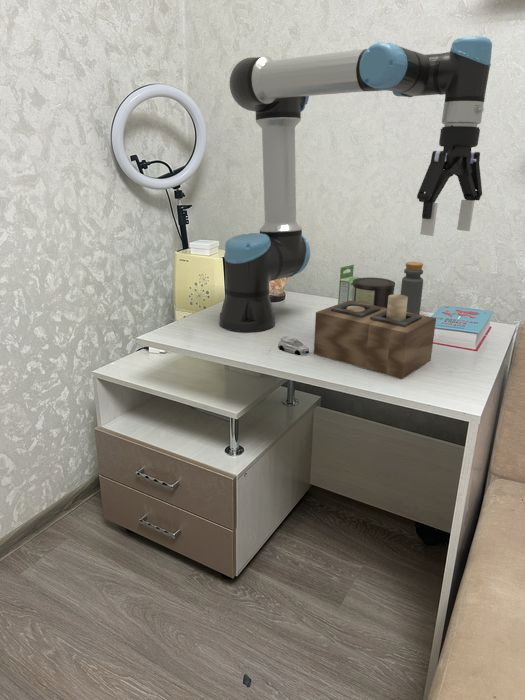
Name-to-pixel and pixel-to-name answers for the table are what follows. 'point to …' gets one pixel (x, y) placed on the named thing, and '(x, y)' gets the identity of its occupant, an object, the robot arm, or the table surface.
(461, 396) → the table surface
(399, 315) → the dowel
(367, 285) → the coffee can
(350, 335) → the socket block
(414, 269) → the bottle
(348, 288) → the ink box
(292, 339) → the toy car
